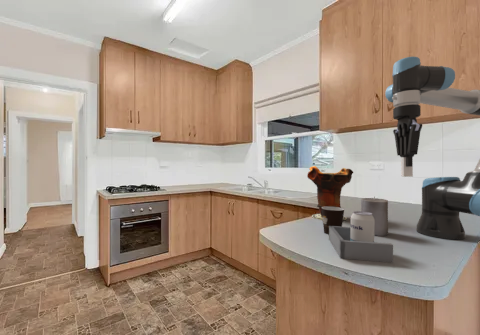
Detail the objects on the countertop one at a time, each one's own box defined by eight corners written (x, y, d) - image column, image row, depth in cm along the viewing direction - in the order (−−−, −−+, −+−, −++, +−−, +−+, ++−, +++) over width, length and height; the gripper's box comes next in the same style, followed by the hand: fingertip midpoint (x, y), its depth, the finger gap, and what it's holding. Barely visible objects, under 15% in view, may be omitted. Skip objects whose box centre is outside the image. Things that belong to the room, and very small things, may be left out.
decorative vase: (362, 221, 116) (360, 164, 116) (315, 223, 116) (313, 166, 116) (343, 213, 137) (341, 164, 137) (303, 214, 137) (301, 166, 137)
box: (369, 242, 85) (370, 228, 85) (392, 262, 67) (393, 244, 67) (328, 239, 88) (329, 225, 88) (340, 258, 70) (340, 241, 70)
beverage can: (345, 247, 79) (346, 211, 79) (360, 245, 82) (361, 210, 82) (362, 254, 73) (363, 215, 73) (379, 252, 75) (379, 214, 75)
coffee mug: (346, 236, 91) (346, 210, 91) (322, 235, 93) (323, 209, 93) (339, 229, 103) (340, 206, 103) (319, 227, 104) (319, 205, 104)
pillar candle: (371, 228, 104) (371, 194, 104) (393, 234, 95) (393, 197, 95) (355, 231, 100) (355, 195, 100) (376, 237, 91) (377, 198, 91)
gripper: (385, 111, 86) (385, 175, 87) (405, 101, 74) (405, 177, 74) (407, 110, 85) (408, 175, 86) (431, 100, 73) (432, 177, 73)
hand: (407, 176), depth 80 cm, fingers closed
